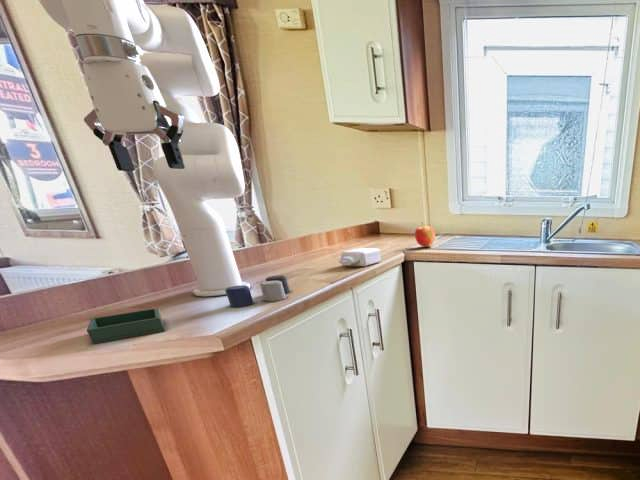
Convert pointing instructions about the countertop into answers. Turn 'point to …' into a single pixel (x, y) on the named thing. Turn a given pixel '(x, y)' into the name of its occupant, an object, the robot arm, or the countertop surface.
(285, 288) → the black cap
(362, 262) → the charger
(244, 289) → the navy cap
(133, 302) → the countertop surface
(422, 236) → the apple
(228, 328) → the countertop surface
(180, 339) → the countertop surface
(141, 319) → the tray
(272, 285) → the grey cap
